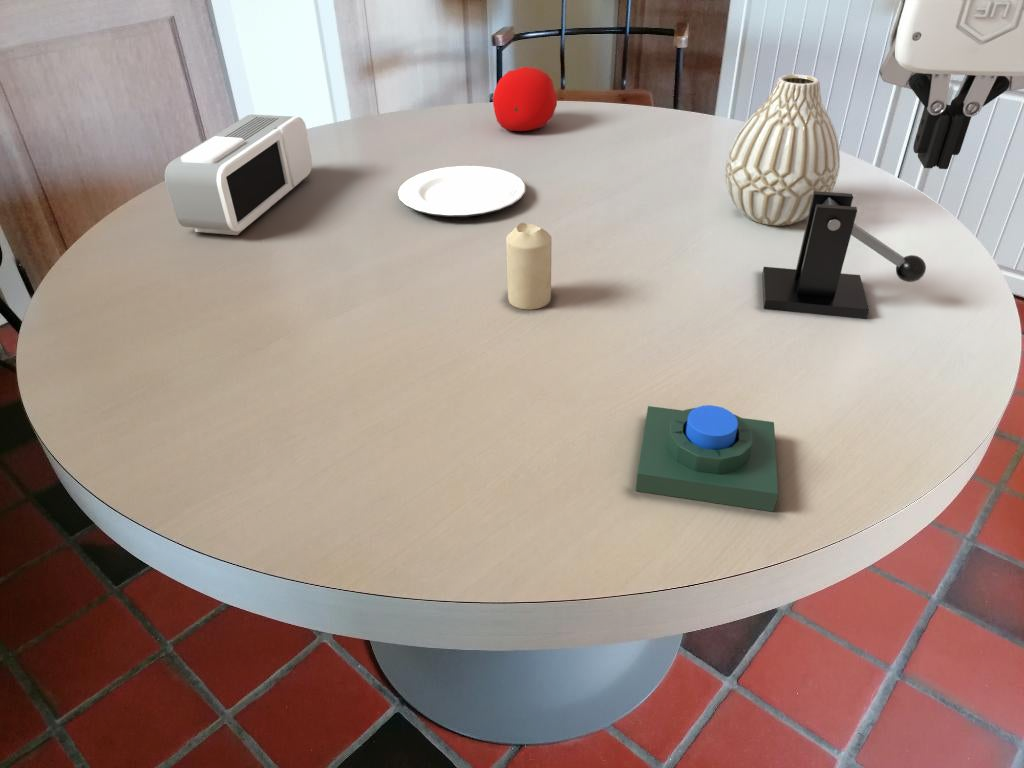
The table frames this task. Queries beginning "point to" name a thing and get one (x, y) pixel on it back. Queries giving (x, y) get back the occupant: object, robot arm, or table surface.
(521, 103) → the tomato
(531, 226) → the candle
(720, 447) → the button
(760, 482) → the switch box
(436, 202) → the plate
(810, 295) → the switch bracket
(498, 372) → the table surface
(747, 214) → the vase
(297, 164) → the alarm clock
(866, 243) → the lever
